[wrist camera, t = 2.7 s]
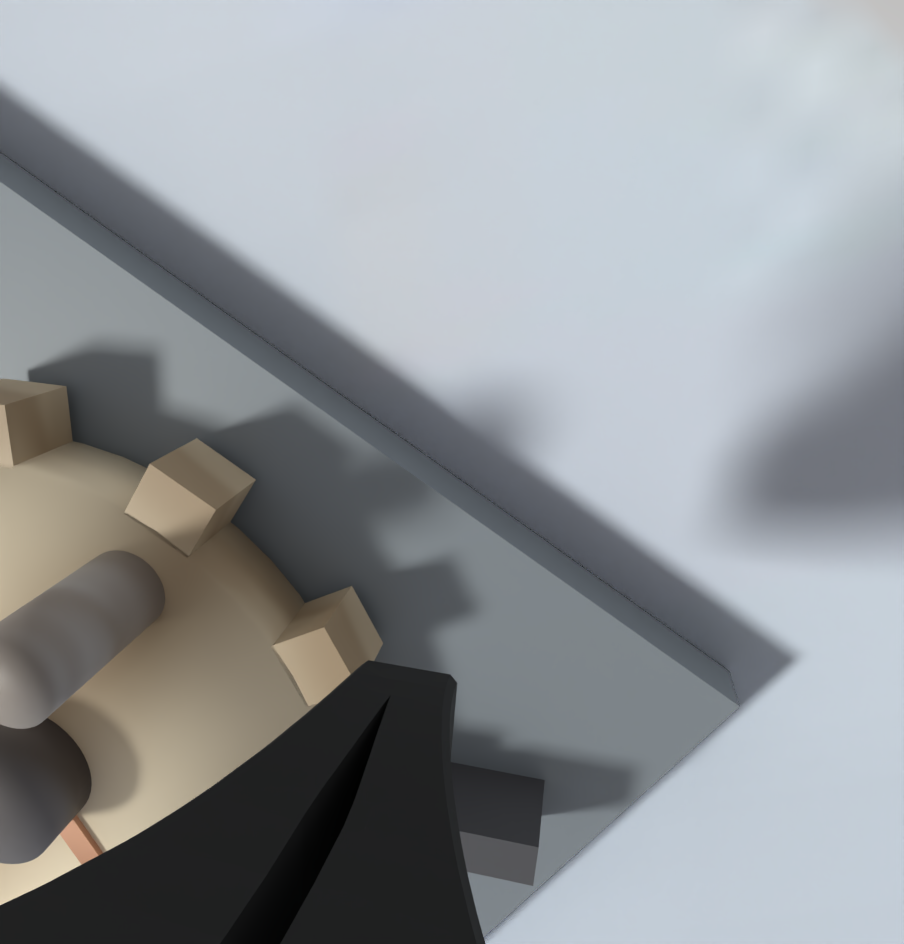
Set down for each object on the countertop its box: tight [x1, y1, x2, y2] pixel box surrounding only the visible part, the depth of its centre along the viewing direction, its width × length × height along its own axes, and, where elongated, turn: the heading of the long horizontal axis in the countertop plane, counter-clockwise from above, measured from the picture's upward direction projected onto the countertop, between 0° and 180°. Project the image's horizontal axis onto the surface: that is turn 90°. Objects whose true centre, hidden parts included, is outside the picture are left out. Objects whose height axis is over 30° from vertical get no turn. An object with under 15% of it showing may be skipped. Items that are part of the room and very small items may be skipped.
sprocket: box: [0, 379, 383, 905], centre depth 15 cm, size 16×16×5 cm
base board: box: [0, 153, 740, 937], centre depth 17 cm, size 22×20×3 cm
